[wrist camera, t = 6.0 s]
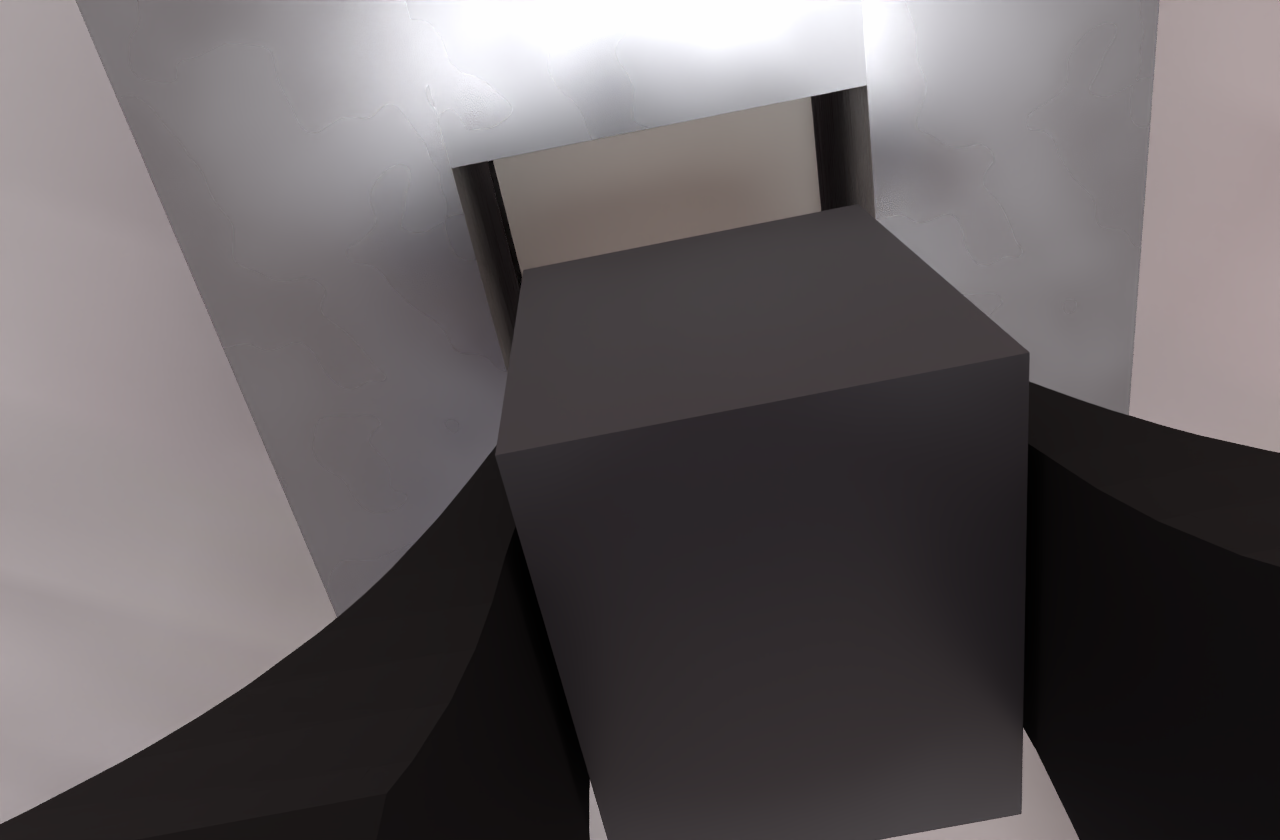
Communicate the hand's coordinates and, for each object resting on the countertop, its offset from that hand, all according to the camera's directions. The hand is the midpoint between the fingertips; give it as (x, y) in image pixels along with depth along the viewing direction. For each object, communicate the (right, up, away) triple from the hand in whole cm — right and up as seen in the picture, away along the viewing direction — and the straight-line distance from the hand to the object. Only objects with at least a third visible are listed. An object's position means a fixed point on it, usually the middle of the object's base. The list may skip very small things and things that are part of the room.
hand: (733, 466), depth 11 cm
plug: (0, +1, +2) cm, 2 cm away
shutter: (0, +3, +7) cm, 8 cm away
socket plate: (0, +3, +7) cm, 8 cm away
